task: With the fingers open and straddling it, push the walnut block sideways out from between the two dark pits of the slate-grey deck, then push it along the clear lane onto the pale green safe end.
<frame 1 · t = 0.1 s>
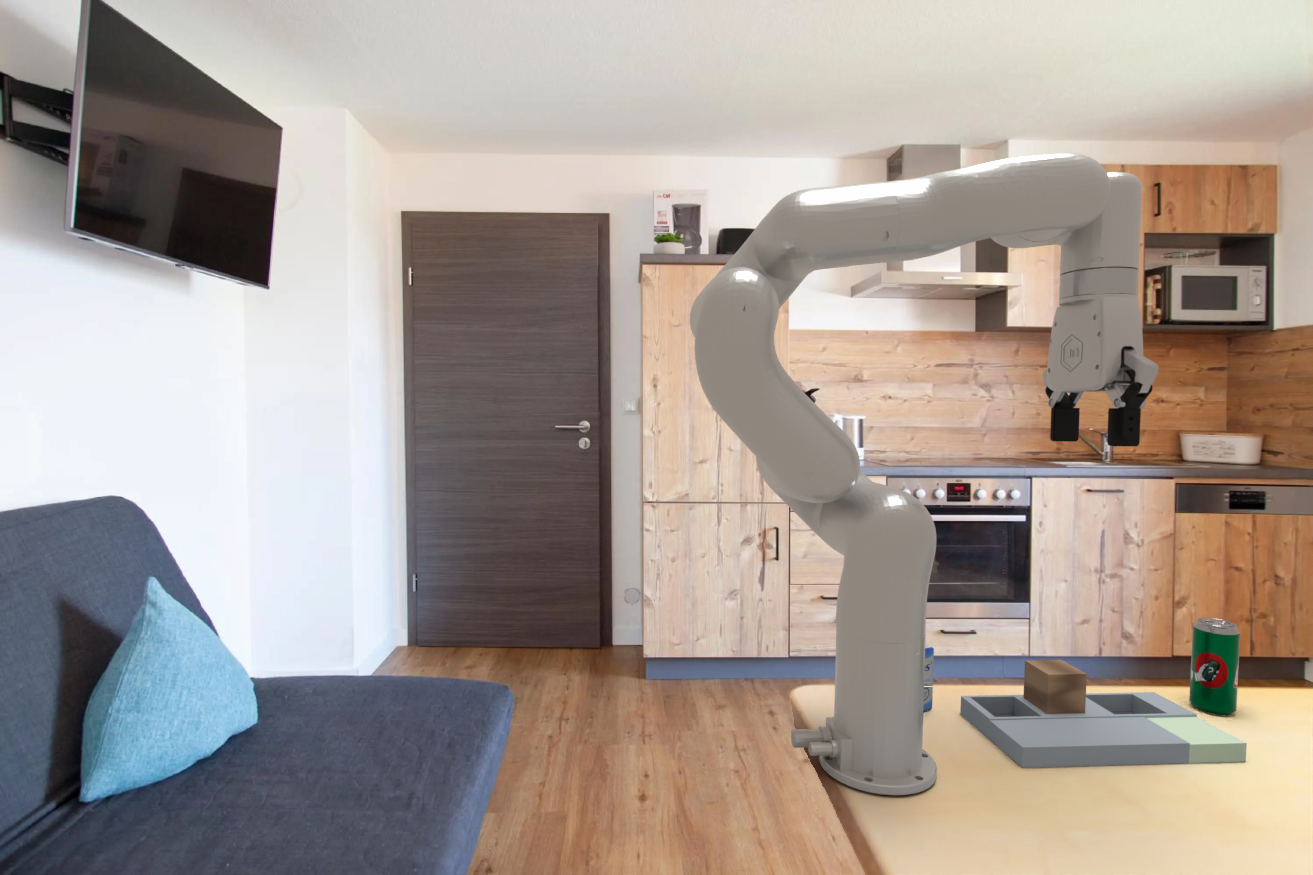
hand: (1091, 443, 81), 37 cm above the table, tool pointing down, fingers open, 9 cm apart
block: (1053, 705, 92), point 2 cm above the table, touching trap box
medicine box: (898, 710, 97), on the table
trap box: (1093, 736, 89), on the table
soda can: (1212, 710, 98), on the table
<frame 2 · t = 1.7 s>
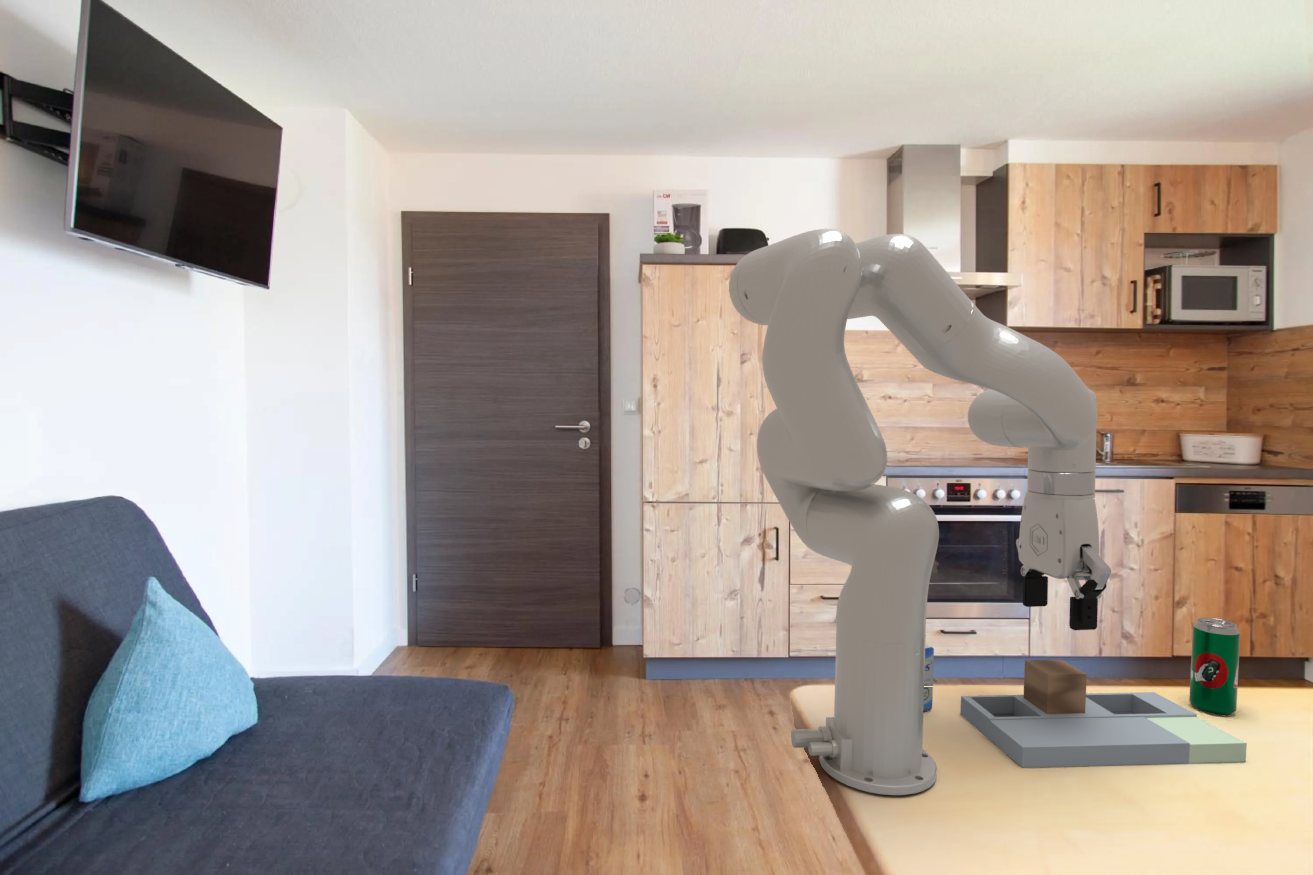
hand: (1057, 616, 93), 14 cm above the table, tool pointing down, fingers open, 9 cm apart
nothing on the table moved.
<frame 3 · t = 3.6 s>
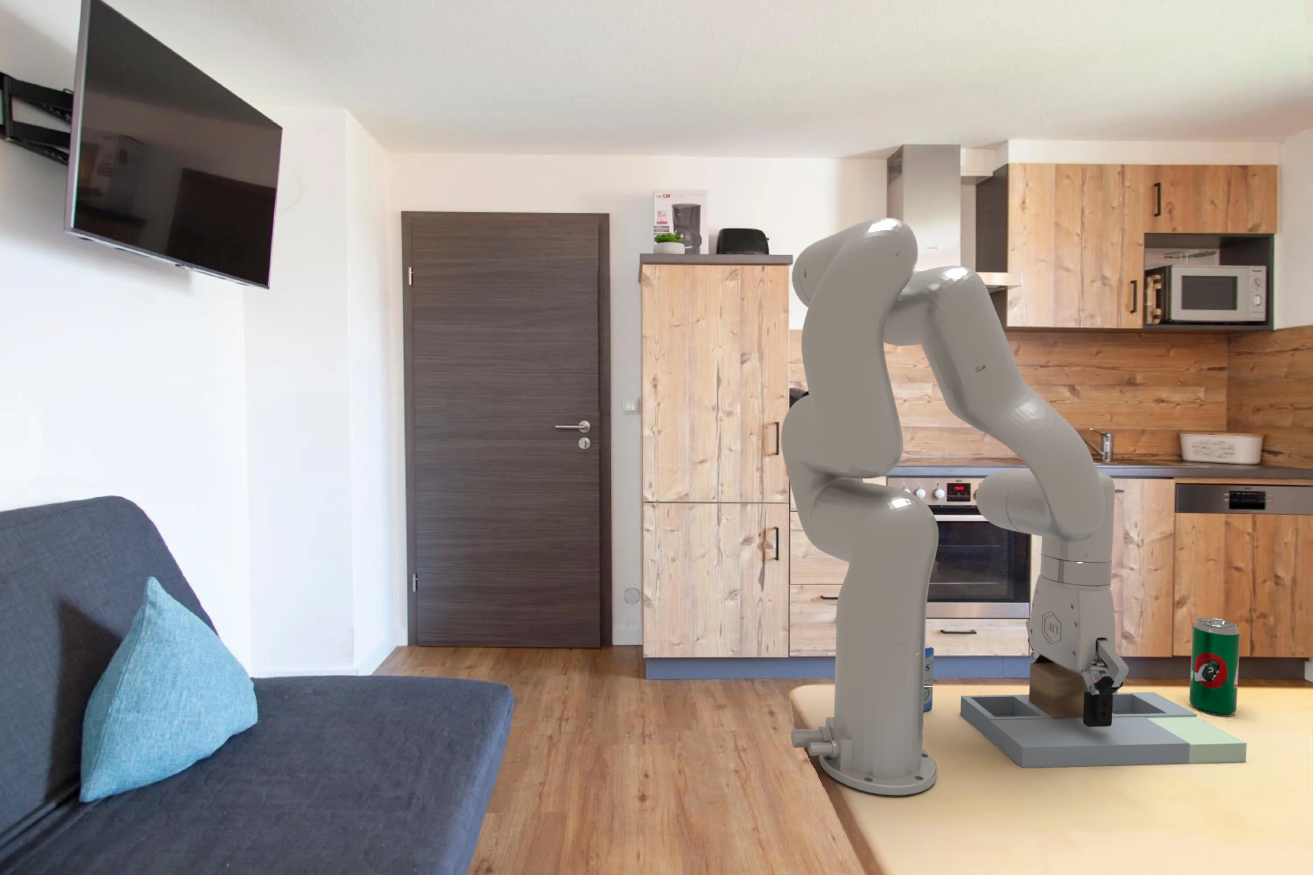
hand: (1069, 707, 89), 3 cm above the table, tool pointing down, fingers open, 9 cm apart
block: (1059, 708, 91), point 2 cm above the table, touching gripper, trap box
everything else where it was.
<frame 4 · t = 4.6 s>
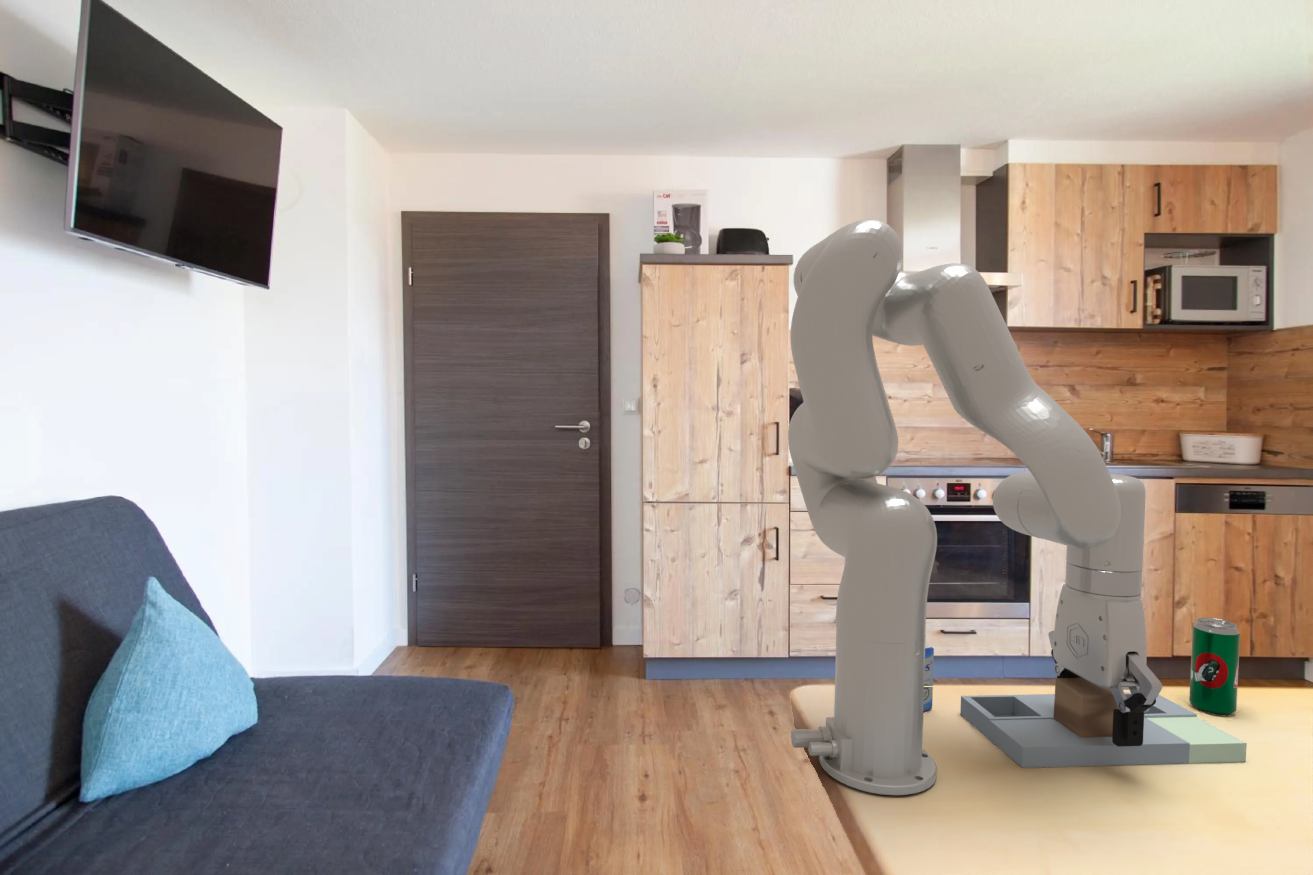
hand: (1096, 725, 84), 4 cm above the table, tool pointing down, fingers open, 9 cm apart
block: (1086, 726, 86), point 2 cm above the table, touching gripper
everything else where it was.
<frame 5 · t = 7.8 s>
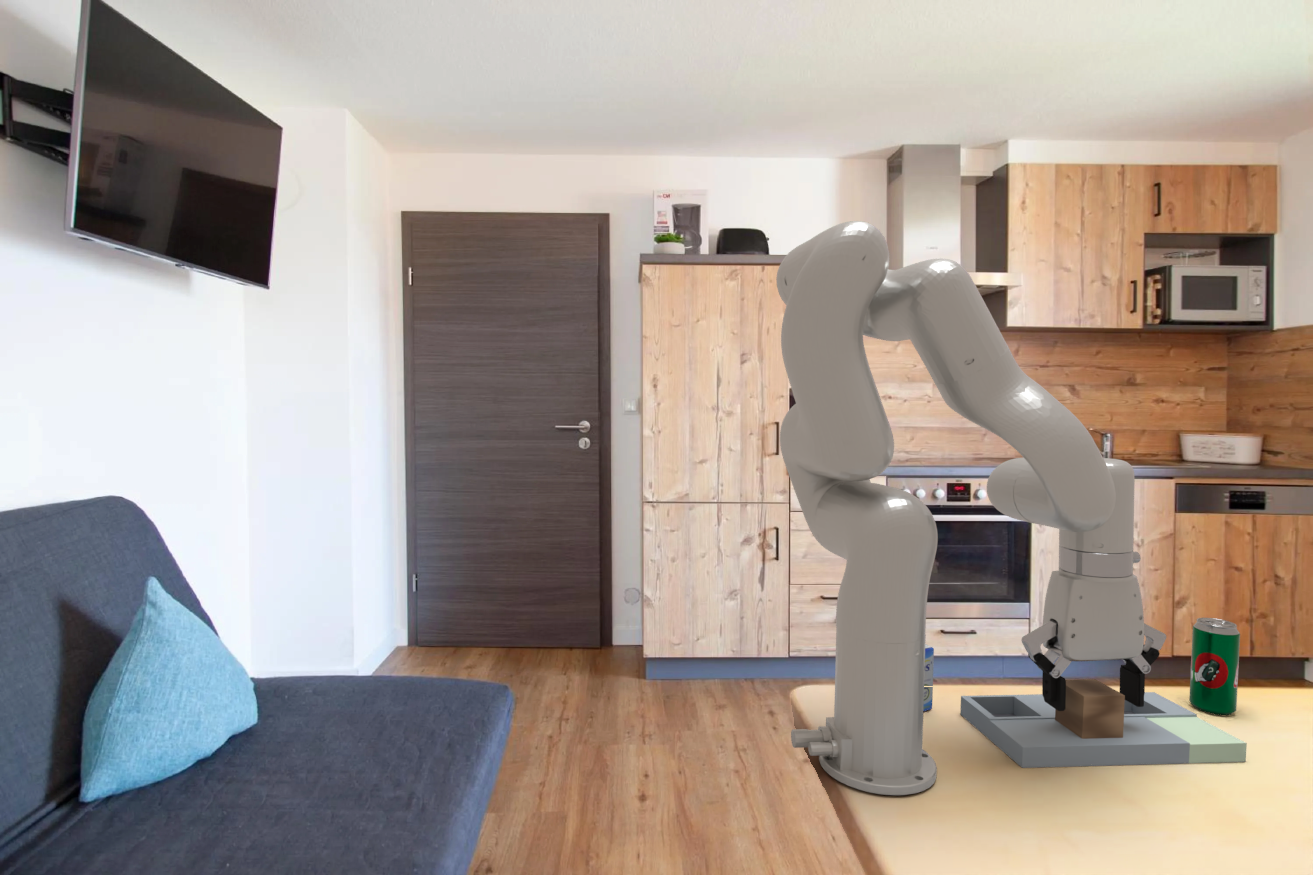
hand: (1093, 704, 86), 5 cm above the table, tool pointing down, fingers open, 9 cm apart
block: (1088, 728, 86), point 2 cm above the table, touching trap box
everything else where it was.
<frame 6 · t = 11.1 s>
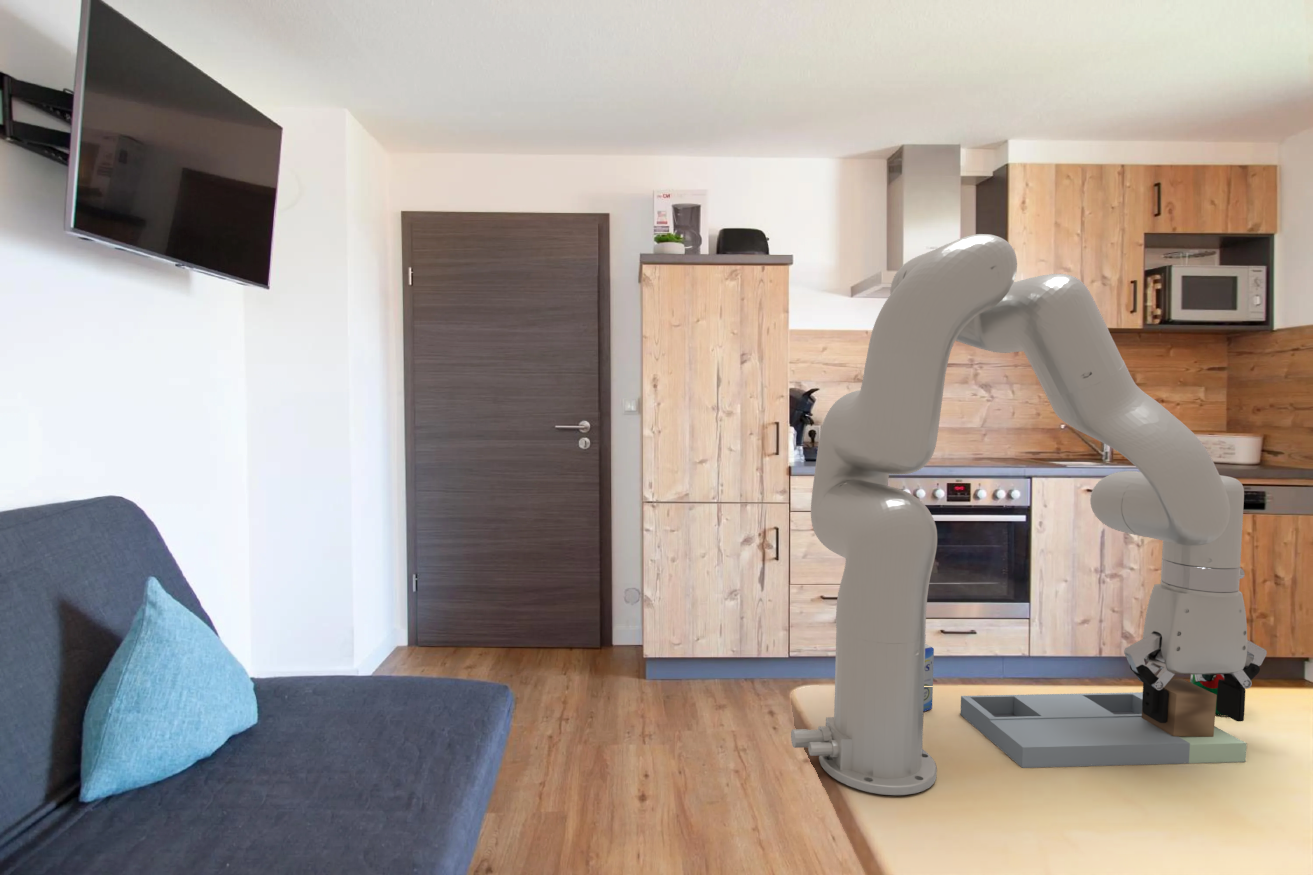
hand: (1192, 717, 87), 3 cm above the table, tool pointing down, fingers open, 9 cm apart
block: (1176, 726, 87), point 2 cm above the table
everything else where it was.
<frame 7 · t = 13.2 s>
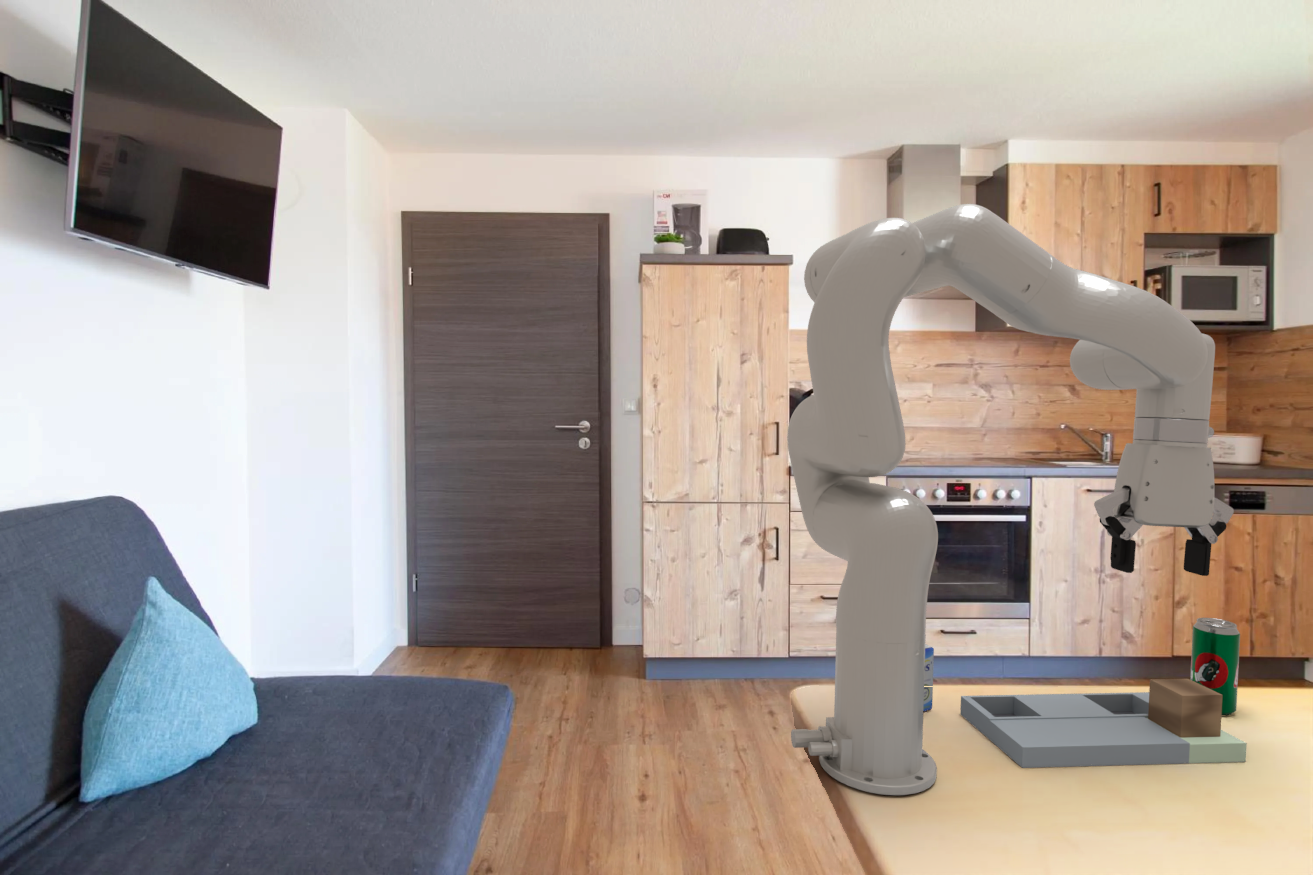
hand: (1158, 571, 89), 20 cm above the table, tool pointing down, fingers open, 9 cm apart
block: (1183, 727, 87), point 2 cm above the table, touching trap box
everything else where it was.
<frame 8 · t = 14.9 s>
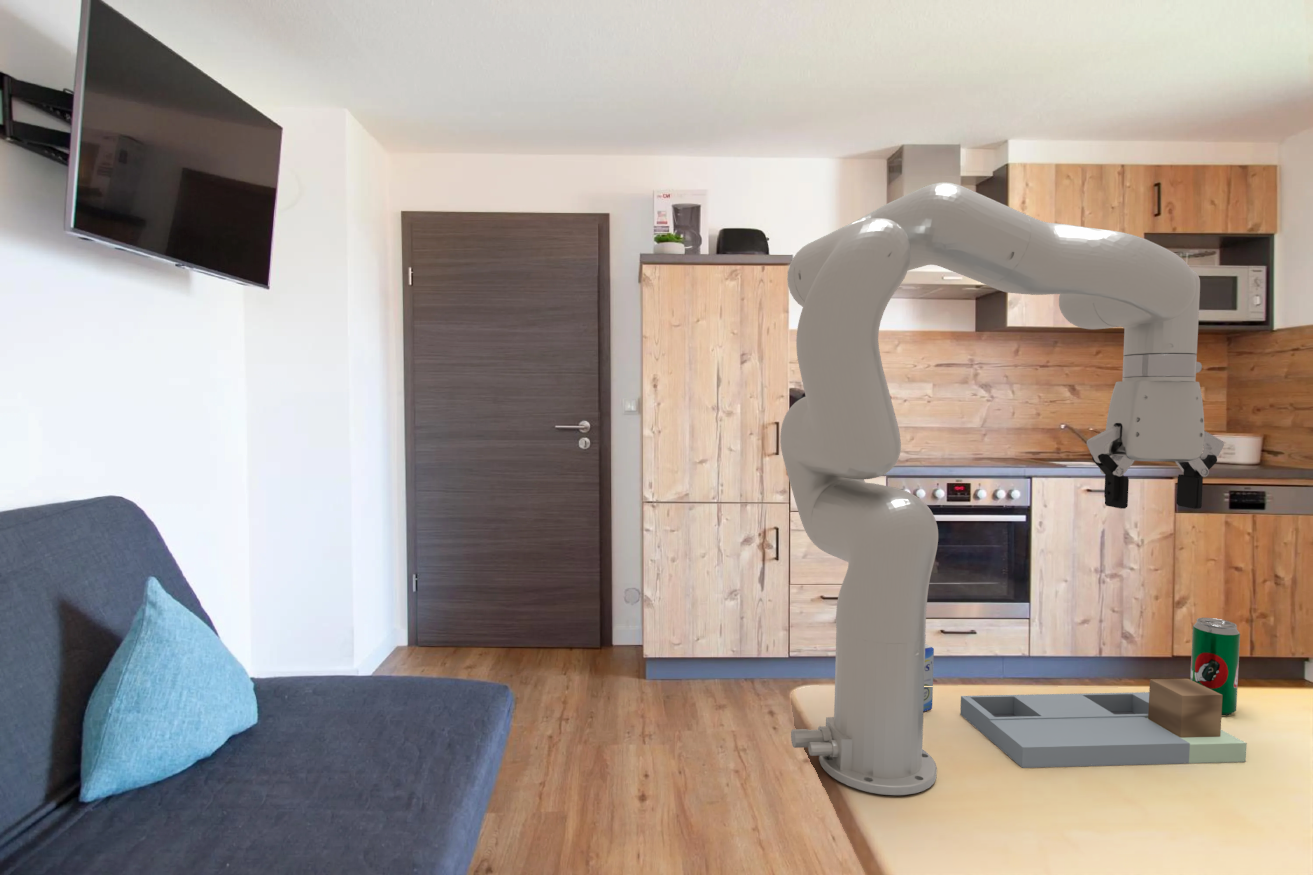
hand: (1152, 507, 90), 28 cm above the table, tool pointing down, fingers open, 9 cm apart
nothing on the table moved.
at the end: block inside the target area (0.7 cm from its centre), point 2.2 cm above the table; block tilted 0° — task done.
